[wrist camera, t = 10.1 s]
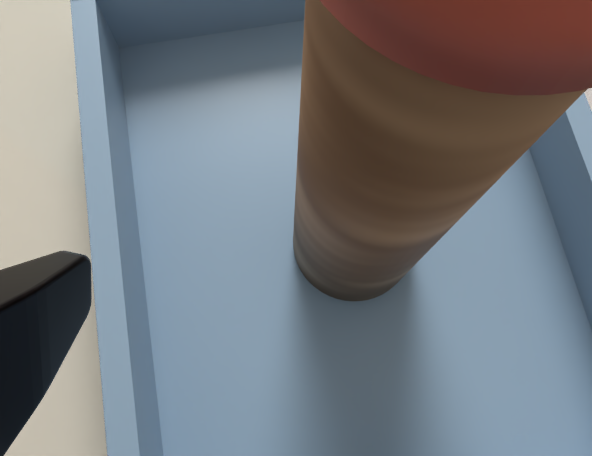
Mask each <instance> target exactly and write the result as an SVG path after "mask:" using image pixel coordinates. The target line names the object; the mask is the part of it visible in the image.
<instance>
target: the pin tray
mask: <svg viewBox="0 0 592 456" xmlns="http://www.w3.org/2000/svg"><path fill="white" fill-rule="evenodd" d="M70 2H71V14H72V26H73V39H74V51H75V63H76V75H77V88H78V100H79V112H80V124H81V137H82V149H83V161H84V173H85V186H86V198H87V210H88V222H89V235H90V247H91V259H92V271H93V284H94V296H95V308H96V320H97V333H98V345H99V357H100V370H101V382H102V394H103V406H104V419H105V431H106V443H107V455H108V456H592V112H591V109H590V106H589V104H588V101H587V99H586V96H585V94H584V93H583V94H582V95H581V96H580V97H579V98H578V99H577V100H576V101H575V102H574V103H573V104H572V105H571V106H570V107H569V108H568V109H567V110H566V111H565V112H564V113H563V114H562V115H561V116H560V117H559V118H558V119H557V120H556V121H555V122H554V123H553V124H552V125H551V126H550V127H549V129H548V130H547V131H546V132H545V133H544V134H543V135H542V136H541V137H540V138H539V139H538V140H537V141H536V142H535V143H534V144H533V145H532V146H531V147H530V148H529V149H528V150H527V151H526V152H525V153H524V154H523V155H522V156H521V157H520V158H519V159H518V160H517V161H516V162H515V163H514V164H513V165H512V166H511V167H510V168H509V169H508V170H507V171H506V172H505V173H504V174H503V175H502V176H501V178H500V179H499V180H498V181H497V182H496V183H495V184H494V185H493V186H492V187H491V188H490V189H489V190H488V191H487V192H486V193H485V194H484V195H483V196H482V197H481V198H480V199H479V200H478V201H477V202H476V203H475V204H474V205H473V206H472V207H471V208H470V209H469V210H468V211H467V212H466V213H465V214H464V215H463V216H462V217H461V218H460V219H459V220H458V221H457V222H456V223H455V224H454V225H453V227H452V228H451V229H450V230H449V231H448V232H447V233H446V234H445V235H444V236H443V237H442V238H441V239H440V240H439V241H438V242H437V243H436V244H435V245H434V246H433V247H432V248H431V249H430V250H429V251H428V252H427V253H426V254H425V255H424V256H423V257H422V258H421V259H420V260H419V261H418V262H417V263H416V264H415V265H414V266H413V267H412V268H411V269H410V270H409V271H408V272H407V273H406V274H405V276H404V277H403V278H402V279H401V280H400V281H399V282H398V283H397V284H396V285H395V286H394V287H392V288H391V289H390V290H389V291H387V292H385V293H384V294H382V295H380V296H378V297H376V298H373V299H369V300H364V301H344V300H340V299H336V298H333V297H330V296H328V295H326V294H324V293H322V292H321V291H319V290H318V289H317V288H315V287H314V286H313V285H312V284H311V283H310V282H309V281H308V280H307V279H306V278H305V276H304V275H303V273H302V272H301V270H300V268H299V266H298V264H297V262H296V258H295V255H294V249H293V230H294V210H295V191H296V172H297V152H298V133H299V113H300V94H301V74H302V55H303V36H304V16H305V0H70Z"/></svg>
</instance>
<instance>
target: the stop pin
mask: <svg viewBox="0 0 592 456" xmlns="http://www.w3.org/2000/svg"><path fill="white" fill-rule="evenodd" d="M588 88H592V0H305V16H304V36H303V55H302V74H301V94H300V113H299V133H298V152H297V172H296V191H295V210H294V230H293V249H294V255H295V258H296V262H297V264H298V266H299V268H300V270H301V272H302V273H303V275H304V276H305V278H306V279H307V280H308V281H309V282H310V283H311V284H312V285H313V286H314V287H315V288H317V289H318V290H319V291H321V292H322V293H324V294H326V295H328V296H330V297H333V298H336V299H340V300H344V301H364V300H369V299H373V298H376V297H378V296H380V295H382V294H384V293H385V292H387V291H389V290H390V289H391V288H392V287H394V286H395V285H396V284H397V283H398V282H399V281H400V280H401V279H402V278H403V277H404V276H405V274H406V273H407V272H408V271H409V270H410V269H411V268H412V267H413V266H414V265H415V264H416V263H417V262H418V261H419V260H420V259H421V258H422V257H423V256H424V255H425V254H426V253H427V252H428V251H429V250H430V249H431V248H432V247H433V246H434V245H435V244H436V243H437V242H438V241H439V240H440V239H441V238H442V237H443V236H444V235H445V234H446V233H447V232H448V231H449V230H450V229H451V228H452V227H453V225H454V224H455V223H456V222H457V221H458V220H459V219H460V218H461V217H462V216H463V215H464V214H465V213H466V212H467V211H468V210H469V209H470V208H471V207H472V206H473V205H474V204H475V203H476V202H477V201H478V200H479V199H480V198H481V197H482V196H483V195H484V194H485V193H486V192H487V191H488V190H489V189H490V188H491V187H492V186H493V185H494V184H495V183H496V182H497V181H498V180H499V179H500V178H501V176H502V175H503V174H504V173H505V172H506V171H507V170H508V169H509V168H510V167H511V166H512V165H513V164H514V163H515V162H516V161H517V160H518V159H519V158H520V157H521V156H522V155H523V154H524V153H525V152H526V151H527V150H528V149H529V148H530V147H531V146H532V145H533V144H534V143H535V142H536V141H537V140H538V139H539V138H540V137H541V136H542V135H543V134H544V133H545V132H546V131H547V130H548V129H549V127H550V126H551V125H552V124H553V123H554V122H555V121H556V120H557V119H558V118H559V117H560V116H561V115H562V114H563V113H564V112H565V111H566V110H567V109H568V108H569V107H570V106H571V105H572V104H573V103H574V102H575V101H576V100H577V99H578V98H579V97H580V96H581V95H582V94H583V93H584V92H585V91H586V90H587V89H588Z"/></svg>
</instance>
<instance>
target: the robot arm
mask: <svg viewBox="0 0 592 456" xmlns="http://www.w3.org/2000/svg"><path fill="white" fill-rule="evenodd" d="M90 306H91V263H90V260H89V258H88V257H87V256H85V255H82V254H77V253H72V252H68V251H59V252H56V253H53V254H49V255H46V256H43V257H40V258H37V259H34V260H31V261H27V262H24V263H21V264H18V265H15V266H12V267H8V268H5V269H2V270H0V456H4V454H5V453H6V451H7V450H8V448H9V447H10V446H11V444H12V443H13V441H14V440H15V438H16V437H17V435H18V434H19V432H20V431H21V430H22V428H23V427H24V425H25V424H26V422H27V421H28V419H29V418H30V416H31V415H32V414H33V412H34V411H35V409H36V408H37V406H38V405H39V403H40V401H41V400H42V398H43V397H44V395H45V393H46V392H47V390H48V388H49V386H50V385H51V383H52V381H53V379H54V377H55V375H56V373H57V372H58V370H59V368H60V366H61V364H62V362H63V360H64V358H65V357H66V355H67V353H68V351H69V349H70V347H71V345H72V343H73V342H74V340H75V338H76V336H77V334H78V332H79V330H80V328H81V327H82V325H83V323H84V321H85V319H86V317H87V315H88V313H89V310H90Z"/></svg>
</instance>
